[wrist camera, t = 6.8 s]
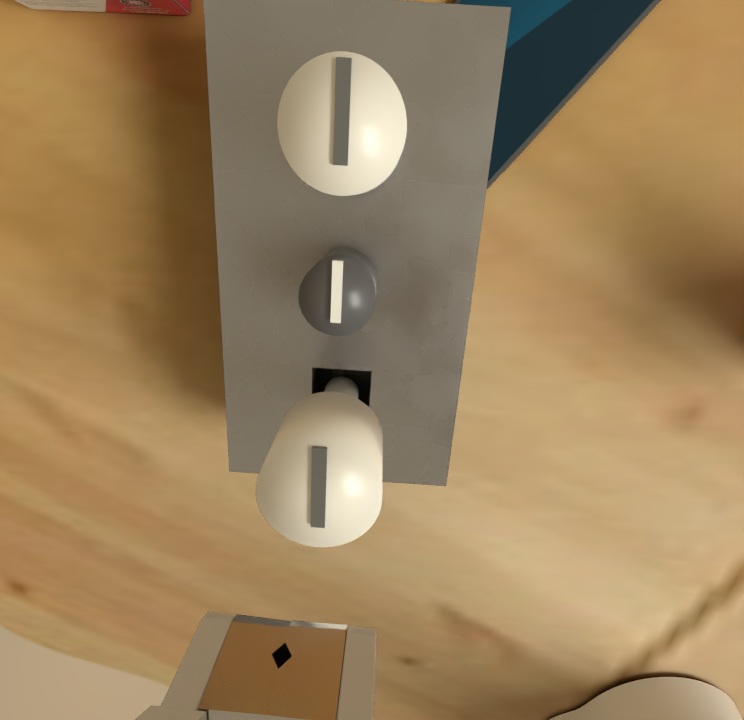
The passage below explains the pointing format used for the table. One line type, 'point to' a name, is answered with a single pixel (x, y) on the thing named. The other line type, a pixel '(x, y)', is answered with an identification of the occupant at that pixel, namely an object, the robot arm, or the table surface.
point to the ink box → (113, 6)
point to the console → (351, 218)
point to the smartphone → (551, 62)
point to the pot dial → (339, 292)
